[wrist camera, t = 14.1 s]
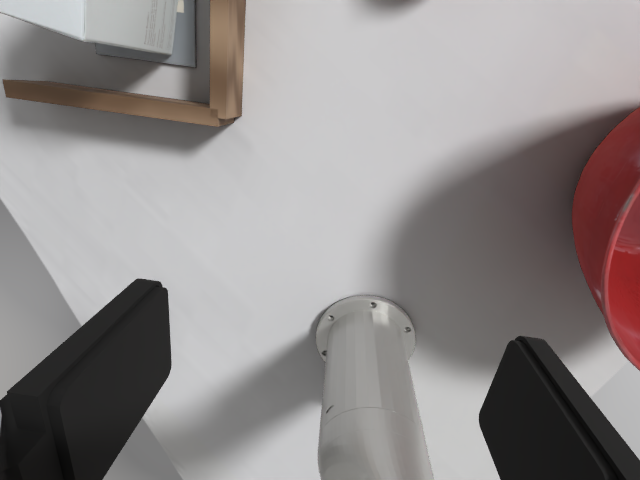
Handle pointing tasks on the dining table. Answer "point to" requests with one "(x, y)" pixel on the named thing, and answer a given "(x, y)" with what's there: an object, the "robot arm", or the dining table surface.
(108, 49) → the pad
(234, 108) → the corner arena
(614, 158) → the mixing bowl
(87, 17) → the supplement box
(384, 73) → the dining table surface
